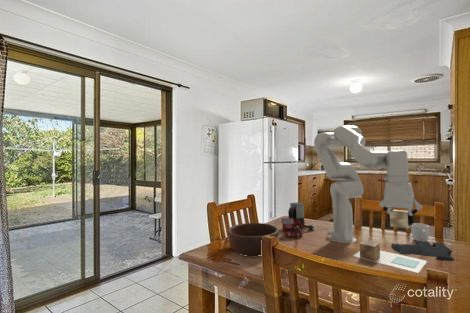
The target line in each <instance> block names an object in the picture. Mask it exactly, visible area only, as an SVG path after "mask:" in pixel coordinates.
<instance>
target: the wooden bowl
mask: <svg viewBox="0 0 470 313" xmlns="http://www.w3.org/2000/svg"><path fill="white" fill-rule="evenodd" d="M265 235H270V236H275V237H277V238H278V239H279V229H278V227H277V226H275V225H272V224H270V223H269V224H268V223H261V222H246V223H244V222H243V223H240V224H239V223H238V224H235V225H232V226H230V227H229V228H228V229H227V238H228V242H229V243H228V244H229V245H230V248H231V250H232V251H233V252H234V253H235V252H236V253H238V254H242V255H247V256H258V255H261V240H262V237H263V236H265ZM236 253H235V254H236ZM238 254H237V255H238Z"/></svg>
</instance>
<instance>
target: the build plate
mask: <svg viewBox="0 0 470 313" xmlns="http://www.w3.org/2000/svg"><path fill="white" fill-rule="evenodd" d="M352 257H355V258H359V259H363V260H367V261H371V262H374V263H378V264H382V265H386V266H390V267H395V268H397V269H402V270H405V271H409V272H414V273H416V274H419V272H421V271H422V269H423V268H424V267H425V265H426V264H427V263H428V260H427V259H426V260H425V259H420V258H416V257H412V256H406V255H404V254H400V253H398V254H397V253H393V252H390V251H384V250H381V249H380V258H378V259H377V260H376V261H372V260H368V259H364V258H360V250H359V251H358V252H356V253H355V254H353V255H352Z"/></svg>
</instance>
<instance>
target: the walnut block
mask: <svg viewBox="0 0 470 313" xmlns="http://www.w3.org/2000/svg"><path fill="white" fill-rule="evenodd" d="M380 244H381V243H380V242H377V241H370V240H366V239H365V240H362V241H361V242H360V243H359V251H360V258H359V259H362V258H364V259H363V260H366V259H368V260H367V261H370V260H372V261H371V262H374V261H376V260H377V259H378V258H380V250H381V249H380V246H381V245H380Z"/></svg>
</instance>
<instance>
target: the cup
mask: <svg viewBox="0 0 470 313" xmlns="http://www.w3.org/2000/svg"><path fill="white" fill-rule="evenodd" d="M410 230H411V238H412V239H413V240H414V241H416V242H428V241H429V236H430V225H428V224H426V223H419V222H418V223H417V222H414V223H413V224H412V226H411V227H410Z"/></svg>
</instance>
